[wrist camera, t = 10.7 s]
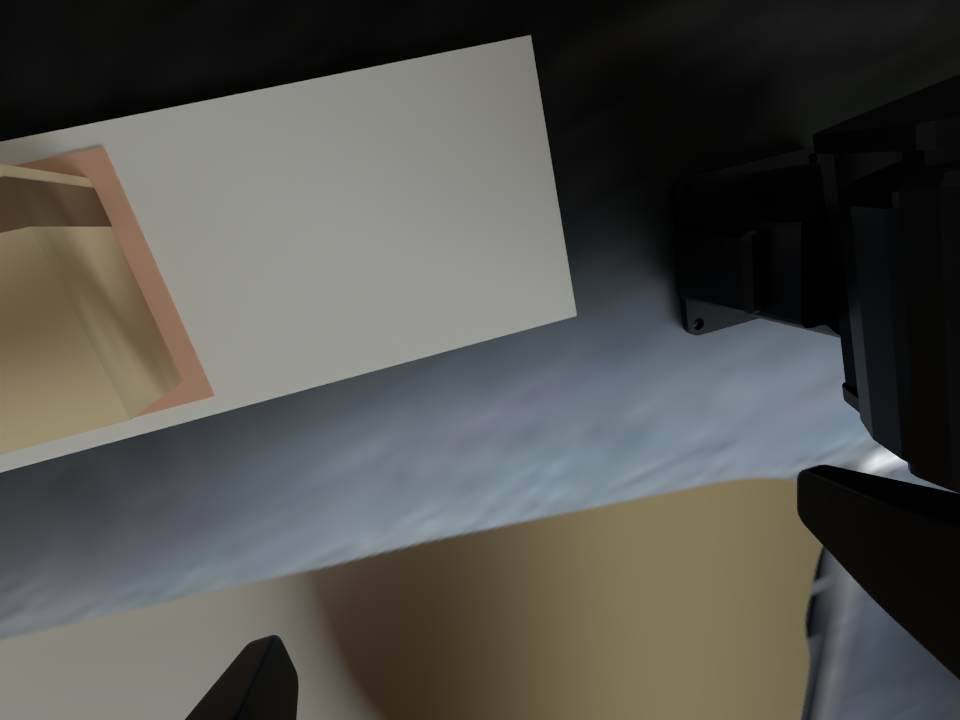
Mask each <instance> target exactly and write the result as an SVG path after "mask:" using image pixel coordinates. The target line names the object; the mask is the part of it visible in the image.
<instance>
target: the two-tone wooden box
mask: <svg viewBox="0 0 960 720" xmlns="http://www.w3.org/2000/svg"><path fill="white" fill-rule="evenodd" d="M182 382H183V379H182V377H181V375H180V373H179V371H178V369H177V367H176V364H175V362H174V360H173V358H172V356H171V354H170V352H169V349H168V347H167V345H166V343H165V341H164V339H163V336H162V334H161V332H160V330H159V328H158V326H157V324H156V321H155V319H154V317H153V315H152V313H151V311H150V308H149V306H148V304H147V302H146V300H145V298H144V296H143V293H142V291H141V289H140V287H139V285H138V283H137V280H136V278H135V276H134V274H133V272H132V270H131V268H130V265H129V263H128V261H127V259H126V257H125V255H124V253H123V250H122V248H121V246H120V244H119V242H118V240H117V237H116V235H115V233H114V231H113V229H112V224H111V222H110V220H109V218H108V216H107V214H106V211H105V209H104V207H103V205H102V203H101V201H100V199H99V196H98V194H97V192H96V190H95V188H93V186H92V184H91V182H90V179H89V178H85V177H79V176H73V175H67V174H60V173H54V172H48V171H42V170H35V169H29V168H23V167H17V166H11V165H4V164H0V455H1V454H5V453H9V452H13V451H16V450H20V449H24V448H27V447H31V446H35V445H39V444H42V443H46V442H50V441H54V440H57V439H61V438H65V437H69V436H72V435H76V434H80V433H84V432H87V431H91V430H95V429H98V428H102V427H106V426H110V425H113V424H117V423H121V422H125V421H128V420H131V419H132V418H134V417H135V416H137V415H138V414H139V413H141V412H142V411H143V410H145V409H146V408H147V407H149V406H150V405H152V404H153V403H154V402H156V401H157V400H158V399H160V398H161V397H163V396H164V395H165V394H167V393H168V392H169V391H171V390H172V389H173V388H175V387H176V386H178V385H179V384H180V383H182Z"/></svg>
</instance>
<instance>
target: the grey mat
mask: <svg viewBox="0 0 960 720" xmlns="http://www.w3.org/2000/svg"><path fill="white" fill-rule="evenodd" d="M0 164H4V165H11V166H17V167H23V168H29V169H35V170H42V171H48V172H54V173H60V174H67V175H73V176H79V177H85V178H89V179H90V182H91V184H92V186H93V188H95V190H96V192H97V194H98V196H99V199H100V201H101V203H102V205H103V207H104V209H105V211H106V214H107V216H108V218H109V220H110V222H111V224H112V229H113V231H114V233H115V235H116V237H117V240H118V242H119V244H120V246H121V248H122V250H123V253H124V255H125V257H126V259H127V261H128V263H129V265H130V268H131V270H132V272H133V274H134V276H135V278H136V280H137V283H138V285H139V287H140V289H141V291H142V293H143V296H144V298H145V300H146V302H147V304H148V306H149V308H150V311H151V313H152V315H153V317H154V319H155V321H156V324H157V326H158V328H159V330H160V332H161V334H162V336H163V339H164V341H165V343H166V345H167V347H168V349H169V352H170V354H171V356H172V358H173V360H174V362H175V364H176V367H177V369H178V371H179V373H180V375H181V377H182V379H183V382H182V383H180V384H179V385H178V386H176V387H175V388H173V389H172V390H171V391H169V392H168V393H167V394H165V395H164V396H163V397H161V398H160V399H158V400H157V401H156V402H154V403H153V404H152V405H150V406H149V407H147V408H146V409H145V410H143V411H142V412H141V413H139V414H138V415H137V416H135V417H134V418H132V419H131V420H128V421H125V422H121V423H117V424H113V425H110V426H106V427H102V428H98V429H95V430H91V431H87V432H84V433H80V434H76V435H72V436H69V437H65V438H61V439H57V440H54V441H50V442H46V443H42V444H39V445H35V446H31V447H27V448H24V449H20V450H16V451H13V452H9V453H5V454H1V455H0V472H4V471H8V470H11V469H15V468H19V467H22V466H26V465H30V464H33V463H37V462H41V461H44V460H48V459H52V458H55V457H59V456H63V455H67V454H70V453H74V452H78V451H81V450H85V449H89V448H92V447H96V446H100V445H103V444H107V443H111V442H114V441H118V440H122V439H125V438H129V437H133V436H136V435H140V434H144V433H147V432H151V431H155V430H159V429H162V428H166V427H170V426H173V425H177V424H181V423H184V422H188V421H192V420H195V419H199V418H203V417H206V416H210V415H214V414H217V413H221V412H225V411H228V410H232V409H236V408H239V407H243V406H247V405H251V404H254V403H258V402H262V401H265V400H269V399H273V398H276V397H280V396H284V395H287V394H291V393H295V392H298V391H302V390H306V389H309V388H313V387H317V386H320V385H324V384H328V383H332V382H335V381H339V380H343V379H346V378H350V377H354V376H357V375H361V374H365V373H368V372H372V371H376V370H379V369H383V368H387V367H390V366H394V365H398V364H401V363H405V362H409V361H412V360H416V359H420V358H424V357H427V356H431V355H435V354H438V353H442V352H446V351H449V350H453V349H457V348H460V347H464V346H468V345H471V344H475V343H479V342H482V341H486V340H490V339H493V338H497V337H501V336H505V335H508V334H512V333H516V332H519V331H523V330H527V329H530V328H534V327H538V326H541V325H545V324H549V323H552V322H556V321H560V320H563V319H567V318H571V317H574V316H577V314H576V308H575V302H574V296H573V290H572V283H571V277H570V271H569V265H568V259H567V253H566V247H565V241H564V235H563V229H562V223H561V217H560V210H559V204H558V198H557V192H556V186H555V180H554V174H553V168H552V162H551V156H550V150H549V143H548V137H547V131H546V125H545V119H544V113H543V107H542V101H541V95H540V89H539V83H538V77H537V70H536V64H535V58H534V52H533V46H532V40H531V35H529V36H524V37H519V38H514V39H509V40H504V41H499V42H494V43H489V44H484V45H479V46H474V47H469V48H464V49H459V50H454V51H449V52H444V53H439V54H434V55H429V56H424V57H419V58H414V59H410V60H405V61H400V62H395V63H390V64H385V65H380V66H375V67H370V68H365V69H360V70H355V71H350V72H345V73H340V74H335V75H330V76H325V77H320V78H315V79H310V80H305V81H300V82H295V83H290V84H285V85H280V86H275V87H270V88H266V89H261V90H256V91H251V92H246V93H241V94H236V95H231V96H226V97H221V98H216V99H211V100H206V101H201V102H196V103H191V104H186V105H181V106H176V107H171V108H166V109H161V110H156V111H151V112H146V113H141V114H136V115H131V116H126V117H122V118H117V119H112V120H107V121H102V122H97V123H92V124H87V125H82V126H77V127H72V128H67V129H62V130H57V131H52V132H47V133H42V134H37V135H32V136H27V137H22V138H17V139H12V140H7V141H2V142H0Z"/></svg>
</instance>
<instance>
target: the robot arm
mask: <svg viewBox="0 0 960 720" xmlns="http://www.w3.org/2000/svg"><path fill="white" fill-rule="evenodd" d="M813 143H814V147H809V148H804V149H800V150H796V151H792V152H788V153H784V154H780V155H775V156H771V157H767V158H763V159H759V160H755V161H751V162H747V163H743V164H739V165H735V166H730V167H726V168H722V169H718V170H714V171H710V172H706V173H702V174H698V175H694V176H690V177H685V178H681V179H679V180H677V181H676V182H675V183H674V184H673V186H672V188H671V203H672V214H673V225H674V236H673V238H672V241H673V251H674V262H675V273H676V284H677V294H678V295H679V296H680V303H681V314H682V325H683V328H684V330H685V331H686V332H688V333H690V334H693V335H702V334H705V333H709V332H712V331H716V330H719V329H723V328H726V327H730V326H733V325H737V324H740V323H744V322H747V321H751V320H754V319H758V318H761V319H765V320H770V321H774V322H778V323H782V324H786V325H790V326H794V327H798V328H802V329H806V330H810V331H815V332H819V333H823V334H827V335H831V336H835V337H839V338H841V346H842V355H843V364H844V372H845V381H846V382H845V383H843V385H842V389H843V397H844V400H845V401H846V402H847V403H848V404H850V405H851V406H852V407H853V408H854V409H856V410H857V411H858V412H859V413H860V418H861V421H862V423H863V424H864V426H865V427H866V429H867V430H868V432H869V433H870V435H871V437H872V438H873V439H874V440H875V441H876V442H878V443H879V444H881V445H882V446H884V447H885V448H887V449H888V450H889V451H891V452H892V453H894V454H895V455H897V456H898V457H899V458H901V459H902V460H904V461H906V462H908V469H909V471H910V473H912V474H913V475H915V476H916V477H918V478H921V479H923V480H925V481H928V482H931V483H933V484H936V485H938V486H941V487H944V488H946V489H949V490H951V491H954V492H956V493H953V492H949V491H944V490H939V489H935V488H930V487H926V486H921V485H916V484H912V483H907V482H903V481H898V480H893V479H889V478H884V477H880V476H875V475H871V474H866V473H861V472H857V471H852V470H848V469H843V468H838V467H834V466H829V465H818V466H814V467H811V468H808V469H805V470H802V471H801V472H800V473H799V475H798V477H797V511H798V514H799V517H800V519H801V520H802V522H803V523H804V525H805V526H806V527H807V528H808V529H809V530H810V531H811V532H812V534H813V535H814V536H815V537H816V538H817V539H818V540H819V541H820V542H821V543H822V544H823V546H824V547H825V548H826V549H827V550H828V551H829V552H830V553H831V554H832V555H833V556H834V558H835V559H836V560H837V561H838V562H839V563H840V564H841V565H842V566H843V567H844V568H845V569H846V571H847V572H848V573H849V574H850V575H851V576H852V577H853V578H854V579H855V580H856V581H857V583H858V584H859V585H860V586H861V587H862V588H863V589H864V590H865V591H866V592H867V593H868V594H869V595H870V596H871V597H872V598H873V599H874V600H875V601H876V603H877V604H878V605H880V606H881V607H882V608H883V609H884V610H885V611H886V612H887V613H888V614H889V615H890V616H891V617H892V618H893V619H894V620H895V621H896V622H897V623H898V624H900V625H901V626H902V627H903V628H904V629H905V630H906V631H907V632H908V633H909V634H910V635H911V636H912V637H914V638H915V639H916V640H917V641H918V642H919V643H920V644H921V645H922V646H923V647H924V648H925V649H926V650H928V651H929V652H930V653H931V654H932V655H933V656H934V657H935V658H936V659H937V660H938V661H939V662H940V663H942V664H943V665H944V666H945V667H946V668H947V669H948V670H949V671H950V672H951V673H952V674H953V675H954V676H956V677H957V678H958V679H959V680H960V74H958V75H955V76H953V77H950V78H948V79H945V80H943V81H940V82H938V83H935V84H933V85H931V86H928V87H926V88H923V89H921V90H919V91H916V92H914V93H911V94H909V95H906V96H904V97H902V98H899V99H897V100H894V101H892V102H890V103H887V104H885V105H882V106H880V107H877V108H875V109H873V110H870V111H868V112H865V113H863V114H861V115H858V116H856V117H853V118H851V119H848V120H846V121H844V122H841V123H839V124H836V125H834V126H832V127H829V128H827V129H824V130H822V131H820V132H817V133H815V134H813ZM808 157H809V164H807V162H806V161H807V158H808ZM684 186H686V187H687V189H688V194H687V195H686V197H684V196H683V193H682V190H683V187H684ZM696 319H698V324H697V326H696V327H694V326H693V324H694V321H695V320H696ZM958 493H959V494H958ZM297 702H298V676H297V672H296V670H295V668H294V665H293V663H292V661H291V659H290V657H289V655H288V653H287V650H286V648H285V646H284V644H283V642H282V640H281V638H280V637H278V636H277V635H271V636H268V637H264V638H262V639H258V640H255V641H252V642H250V643H249V644H248V645H247V646H246V647H245V648H244V649H243V650H242V651H241V653H240V654H239V655H238V656H237V657H236V658H235V660H234V661H233V662H232V663H231V665H230V666H229V667H228V668H227V669H226V671H225V672H224V673H223V674H222V675H221V677H220V678H219V679H218V680H217V681H216V683H215V684H214V685H213V686H212V687H211V689H210V690H209V691H208V692H207V694H206V695H205V696H204V697H203V698H202V700H201V701H200V702H199V703H198V704H197V706H196V707H195V708H194V709H193V710H192V712H191V713H190V714H189V715H188V716H187V718H186V719H185V720H296V716H297Z"/></svg>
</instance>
